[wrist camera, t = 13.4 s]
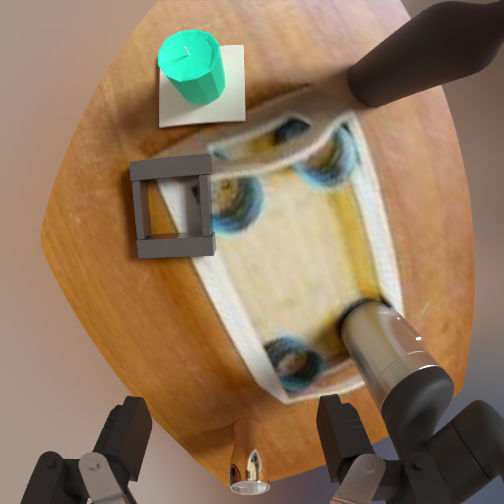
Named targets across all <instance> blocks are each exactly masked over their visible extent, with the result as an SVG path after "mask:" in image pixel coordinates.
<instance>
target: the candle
mask: <svg viewBox="0 0 504 504" xmlns="http://www.w3.org/2000/svg"><path fill="white" fill-rule="evenodd" d="M158 66H159V67H160V68H161V70H162V71H163V73H164V74H165V76H166V77H167V78H168V79H169V80H170V81H171V83H172V84H173V85H174V86H175V87H176V89H177V90H178V91H179V92H180V93H181V94H182V96H183V97H184V98H185V99H186V100H187V101H189V102H192V103H194V104H196V105H199V104H209V103H211V102H213V101H214V100H216V99H218V98H219V97H220V96H221V94H222V93H223V91H224V89H225V88H226V82H225V72H224V67H223V61H222V56H221V51H220V46H219V43H218V42H217V41H216V39H215V38H214V37H213V36H212V34H210V33H207V32H203V31H200V30H187V31H180V32H178V33H176V34H174V35H172V36H170V37H168V38H166V40H165V42H164V43H163V45H162V46H161V48H160V50H159V52H158Z"/></svg>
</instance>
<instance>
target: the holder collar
mask: <svg viewBox="0 0 504 504" xmlns="http://www.w3.org/2000/svg"><path fill="white" fill-rule="evenodd" d="M202 174H212V165H211V155H209V154H203V155H190V156H178V157H168V158H159V159H150V160H142V161H135V162H130V180H131V181H134V182H132V188H133V201H134V212H135V222H136V231H137V240H136V243H137V250H138V258H162V257H190V256H214V253H215V250H216V243H215V232H213V219H212V200H211V179H210V175H202ZM188 175H200V176H199V184H200V203H201V219H202V232H193V233H173V234H154V235H151V234H152V233H151V224H150V213H149V201H148V187H147V180H145V179H154V178H164V177H176V176H188ZM136 180H141V181H136Z"/></svg>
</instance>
